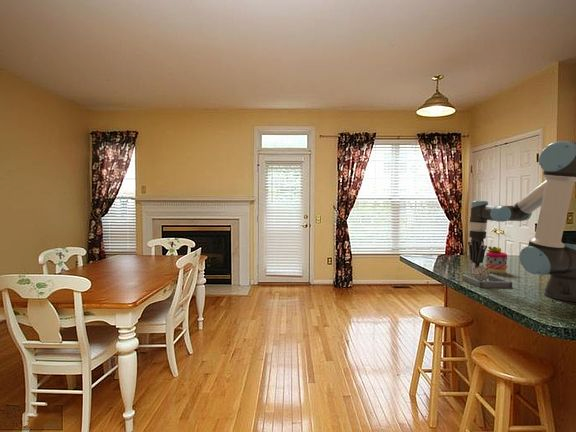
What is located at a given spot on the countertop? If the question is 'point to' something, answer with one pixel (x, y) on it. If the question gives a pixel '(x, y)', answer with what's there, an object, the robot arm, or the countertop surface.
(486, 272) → the translucent lumpy piece
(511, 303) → the countertop surface
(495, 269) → the cake
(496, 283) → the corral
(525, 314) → the countertop surface
